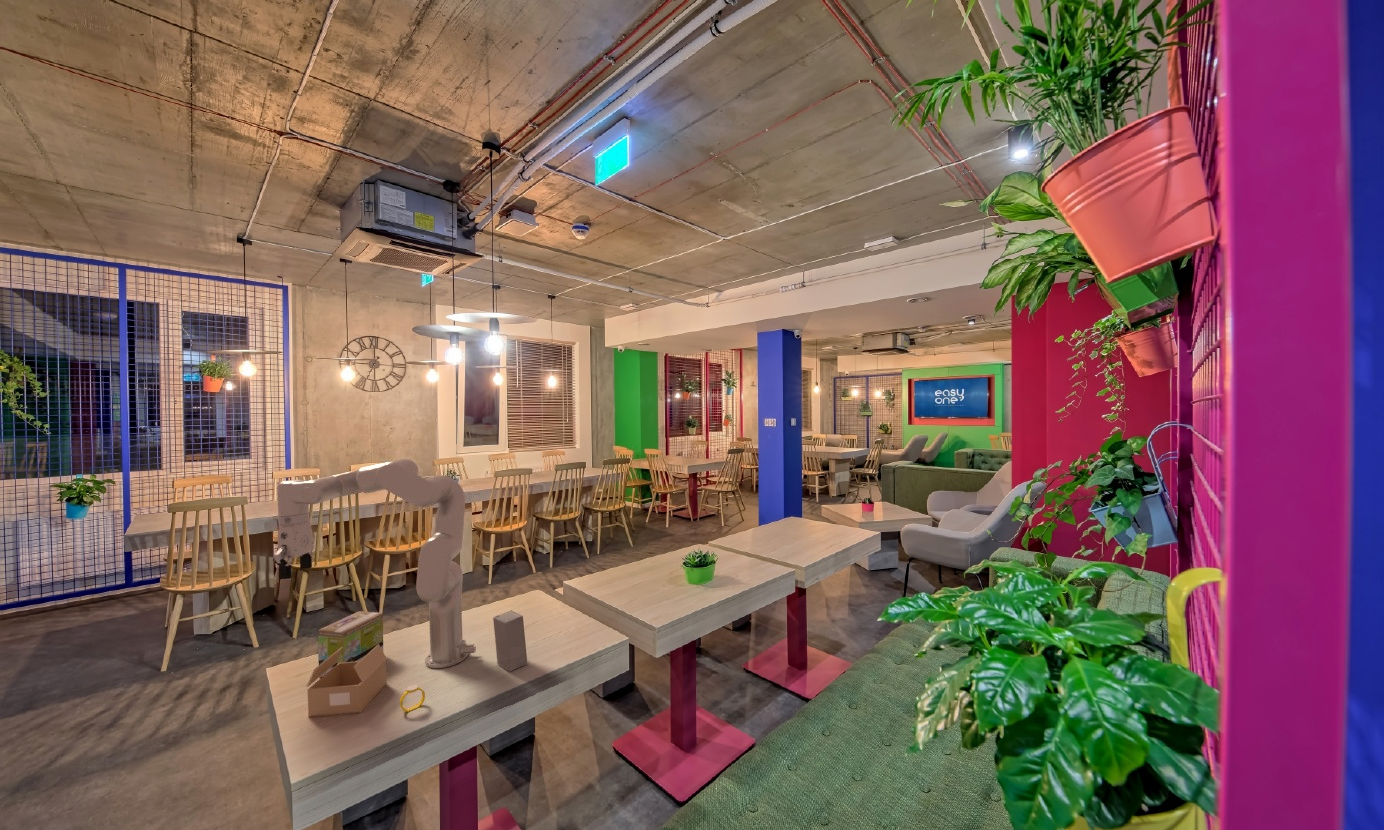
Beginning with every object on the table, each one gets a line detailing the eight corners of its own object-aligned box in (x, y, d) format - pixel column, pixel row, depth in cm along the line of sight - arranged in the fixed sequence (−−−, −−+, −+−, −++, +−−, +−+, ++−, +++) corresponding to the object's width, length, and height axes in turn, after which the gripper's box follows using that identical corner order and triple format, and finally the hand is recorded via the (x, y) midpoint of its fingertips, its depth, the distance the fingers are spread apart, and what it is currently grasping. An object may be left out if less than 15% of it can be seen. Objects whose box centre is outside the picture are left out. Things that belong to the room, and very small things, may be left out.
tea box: (345, 680, 150) (343, 632, 150) (317, 677, 152) (316, 629, 152) (385, 655, 165) (383, 611, 165) (359, 652, 167) (358, 609, 167)
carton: (386, 683, 147) (385, 659, 147) (359, 713, 133) (358, 685, 133) (340, 687, 146) (339, 662, 146) (308, 717, 132) (307, 689, 132)
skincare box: (527, 664, 157) (526, 615, 156) (506, 673, 151) (504, 622, 151) (515, 655, 162) (513, 608, 162) (493, 664, 157) (492, 615, 157)
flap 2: (385, 659, 146) (386, 658, 146) (362, 682, 134) (363, 681, 134) (377, 644, 146) (378, 644, 146) (353, 666, 134) (354, 665, 134)
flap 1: (343, 647, 145) (341, 646, 145) (315, 669, 133) (314, 668, 133) (336, 662, 145) (334, 662, 145) (307, 686, 133) (306, 686, 133)
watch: (422, 703, 138) (423, 681, 138) (425, 707, 136) (426, 685, 136) (398, 711, 133) (399, 689, 134) (401, 715, 132) (402, 693, 132)
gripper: (288, 525, 147) (290, 582, 148) (323, 513, 165) (325, 563, 165) (260, 526, 146) (263, 583, 147) (299, 514, 164) (301, 565, 164)
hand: (296, 573), depth 156 cm, fingers open, 9 cm apart
